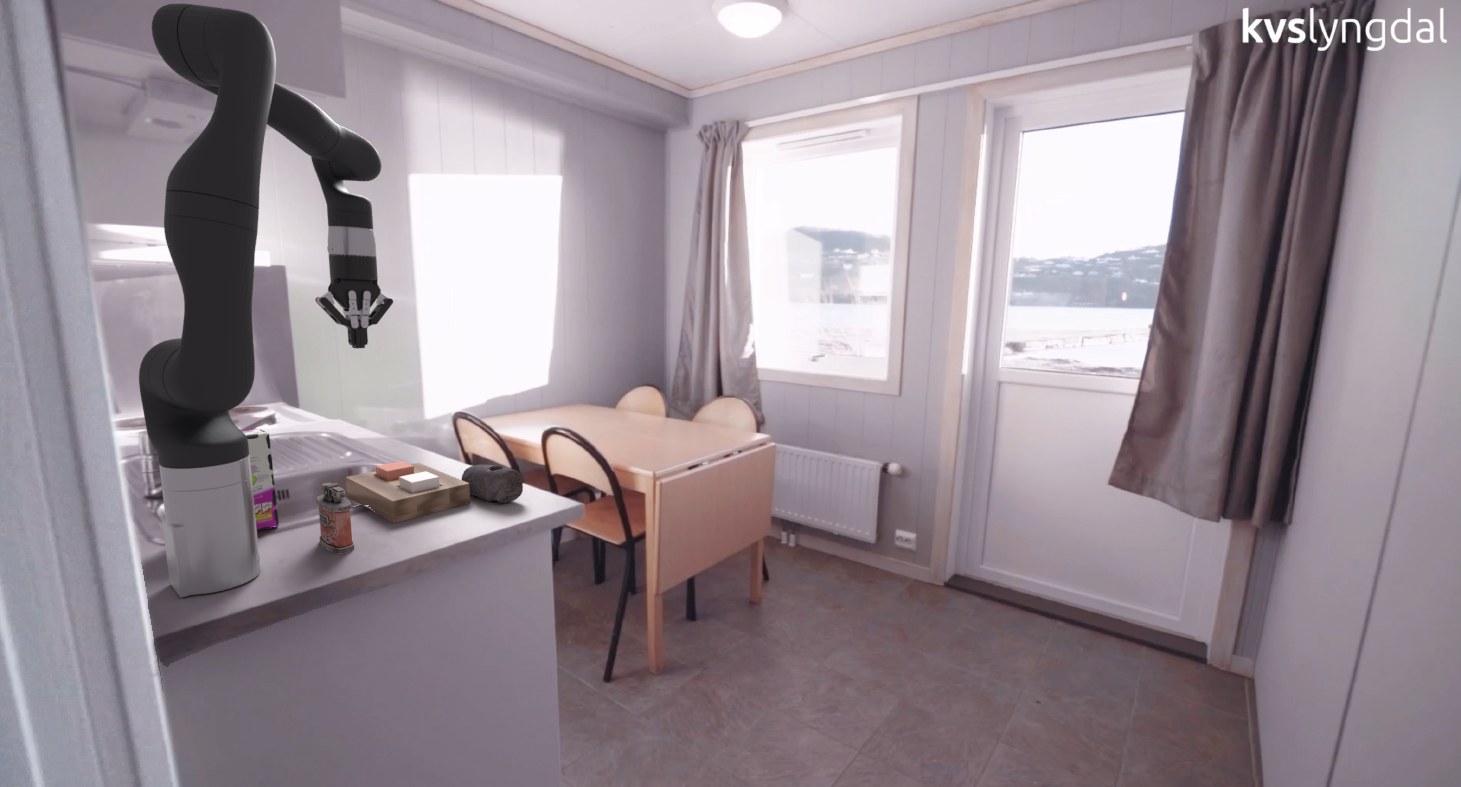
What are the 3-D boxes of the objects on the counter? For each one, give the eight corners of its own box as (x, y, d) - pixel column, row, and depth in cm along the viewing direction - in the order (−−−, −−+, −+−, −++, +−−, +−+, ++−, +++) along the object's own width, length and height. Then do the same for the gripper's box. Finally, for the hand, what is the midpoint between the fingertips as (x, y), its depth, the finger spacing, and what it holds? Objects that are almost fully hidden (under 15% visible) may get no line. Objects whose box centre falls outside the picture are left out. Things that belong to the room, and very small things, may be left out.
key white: (413, 503, 112) (411, 482, 111) (400, 497, 115) (399, 476, 114) (440, 497, 115) (439, 476, 115) (427, 491, 118) (426, 471, 118)
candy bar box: (269, 520, 106) (261, 427, 104) (279, 527, 103) (271, 432, 101) (185, 539, 97) (173, 438, 95) (194, 547, 95) (182, 444, 92)
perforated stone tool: (453, 494, 122) (451, 461, 121) (475, 488, 127) (474, 455, 126) (503, 510, 115) (503, 474, 114) (526, 502, 119) (525, 468, 118)
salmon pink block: (388, 491, 118) (387, 471, 117) (376, 485, 121) (375, 466, 120) (414, 485, 121) (413, 466, 121) (403, 480, 124) (402, 461, 124)
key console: (394, 523, 107) (392, 501, 106) (347, 496, 119) (345, 476, 118) (470, 503, 118) (469, 483, 117) (419, 481, 130) (419, 462, 129)
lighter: (314, 541, 98) (309, 481, 97) (338, 535, 101) (333, 477, 99) (335, 555, 93) (330, 493, 92) (359, 549, 96) (355, 487, 95)
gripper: (319, 250, 105) (326, 351, 108) (399, 256, 115) (404, 347, 118) (303, 251, 110) (310, 348, 112) (381, 256, 120) (386, 344, 123)
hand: (358, 347), depth 115 cm, fingers closed
